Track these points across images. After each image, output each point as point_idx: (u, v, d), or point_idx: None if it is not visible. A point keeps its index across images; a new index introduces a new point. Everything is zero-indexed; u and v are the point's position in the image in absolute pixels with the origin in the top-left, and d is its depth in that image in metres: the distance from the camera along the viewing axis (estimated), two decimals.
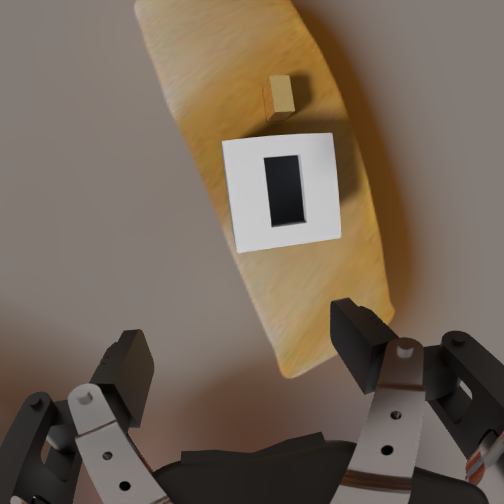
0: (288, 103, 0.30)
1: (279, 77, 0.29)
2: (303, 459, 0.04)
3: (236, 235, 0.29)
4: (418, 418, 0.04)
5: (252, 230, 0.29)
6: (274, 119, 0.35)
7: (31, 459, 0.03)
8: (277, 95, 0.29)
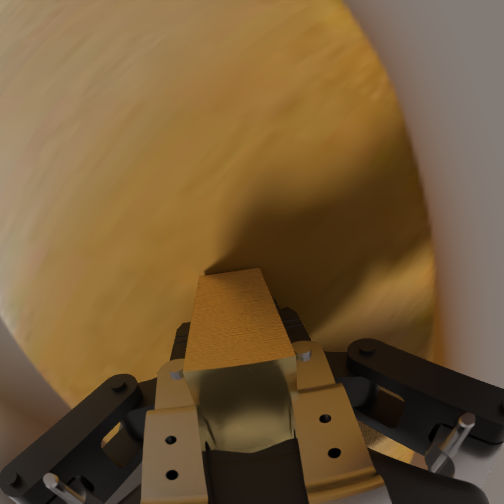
0: None
1: (239, 375, 0.06)
2: None
3: None
4: (349, 414, 0.04)
5: None
6: None
7: (88, 443, 0.04)
8: (231, 439, 0.06)
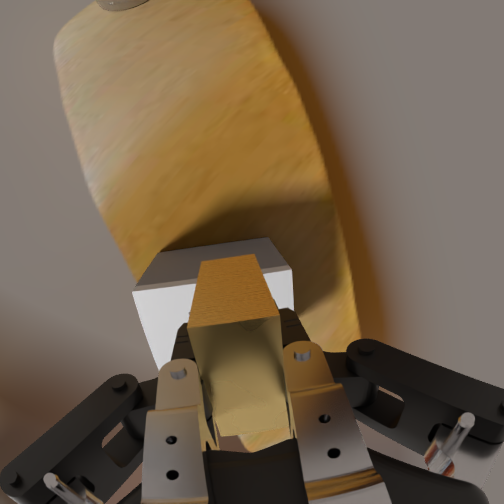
0: (268, 412, 0.08)
1: (233, 331, 0.07)
2: None
3: None
4: (349, 414, 0.05)
5: None
6: None
7: (88, 443, 0.04)
8: (226, 397, 0.08)
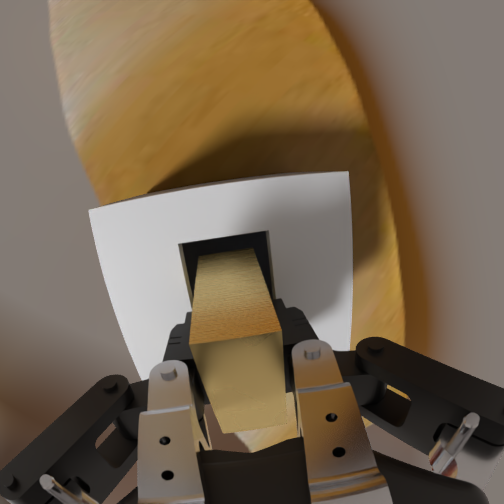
0: (268, 412, 0.09)
1: (235, 346, 0.07)
2: (303, 459, 0.04)
3: None
4: (356, 414, 0.04)
5: None
6: None
7: (82, 444, 0.04)
8: (228, 401, 0.08)
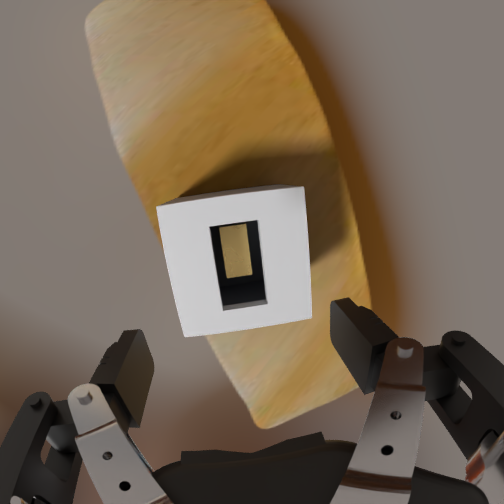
0: (244, 264, 0.26)
1: (232, 228, 0.25)
2: (303, 459, 0.04)
3: (181, 319, 0.24)
4: (418, 418, 0.04)
5: (199, 314, 0.24)
6: None
7: (31, 459, 0.03)
8: (229, 255, 0.26)
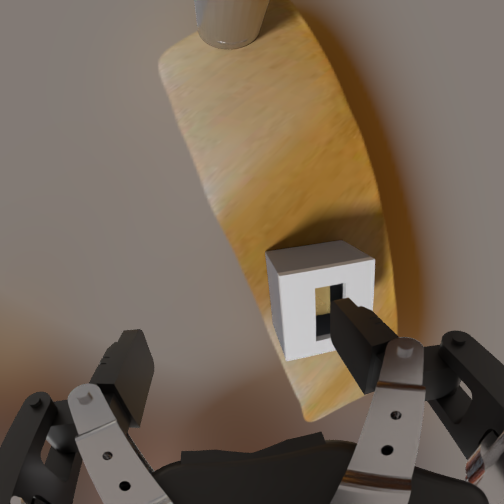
0: (325, 306, 0.36)
1: None
2: (303, 459, 0.04)
3: (287, 349, 0.33)
4: (418, 418, 0.04)
5: (300, 344, 0.33)
6: None
7: (31, 459, 0.03)
8: (316, 301, 0.35)
